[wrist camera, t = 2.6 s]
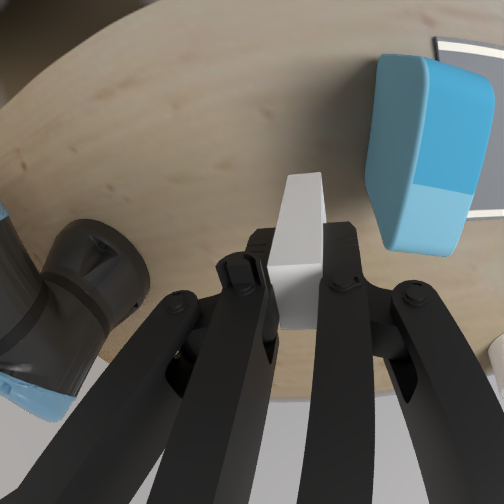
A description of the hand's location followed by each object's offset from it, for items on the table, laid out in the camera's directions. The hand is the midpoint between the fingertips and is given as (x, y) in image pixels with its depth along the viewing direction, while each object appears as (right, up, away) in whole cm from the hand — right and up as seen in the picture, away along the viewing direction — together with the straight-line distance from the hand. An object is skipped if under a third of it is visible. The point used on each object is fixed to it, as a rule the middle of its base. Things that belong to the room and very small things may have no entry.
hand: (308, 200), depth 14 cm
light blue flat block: (+10, +9, +9) cm, 16 cm away
